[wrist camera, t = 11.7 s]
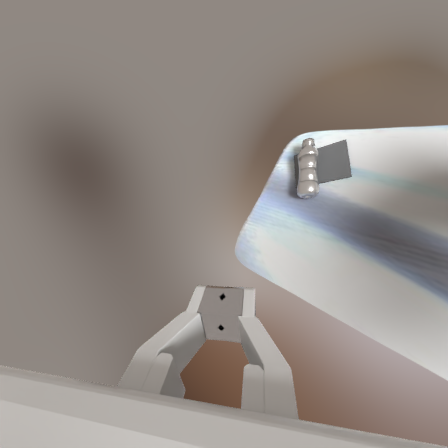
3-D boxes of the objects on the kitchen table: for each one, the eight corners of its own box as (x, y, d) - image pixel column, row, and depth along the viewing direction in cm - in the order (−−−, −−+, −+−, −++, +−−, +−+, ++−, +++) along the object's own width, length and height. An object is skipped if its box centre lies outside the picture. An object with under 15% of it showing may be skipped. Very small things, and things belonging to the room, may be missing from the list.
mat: (346, 141, 57) (346, 139, 57) (351, 176, 54) (351, 175, 53) (294, 157, 66) (294, 155, 66) (296, 188, 63) (296, 187, 62)
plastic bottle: (311, 192, 52) (312, 132, 56) (292, 197, 58) (293, 142, 61) (323, 197, 56) (323, 140, 59) (304, 201, 61) (305, 149, 65)
